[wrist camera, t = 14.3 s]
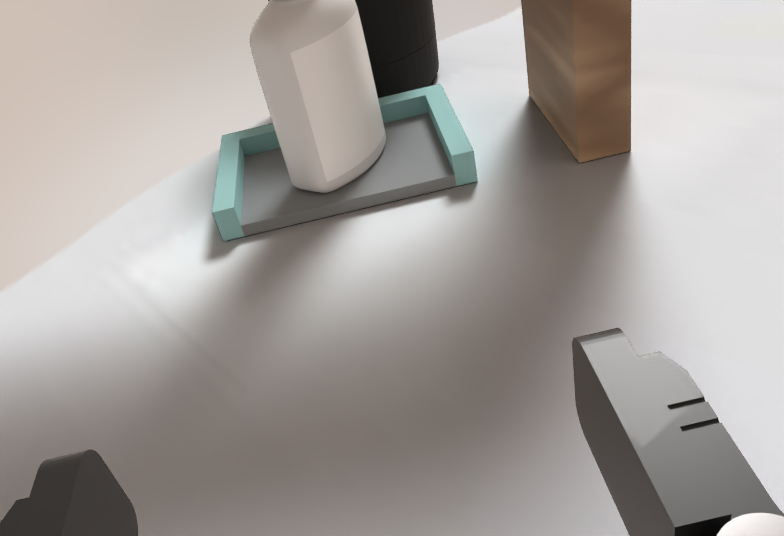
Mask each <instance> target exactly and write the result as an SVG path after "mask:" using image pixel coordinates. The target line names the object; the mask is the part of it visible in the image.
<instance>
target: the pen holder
mask: <svg viewBox="0 0 784 536" xmlns="http://www.w3.org/2000/svg"><path fill="white" fill-rule="evenodd" d="M268 1H270V0H268ZM355 2H356V5H357V8H358V12H359V16H360V20H361V24H362V29H363V33H364V37H365V42H366V46H367V51H368V55H369V60H370V64H371V69H372V73H373V78H374V83H375V87H376V92H377V96H378V98H382V97H386V96H390V95H394V94H399V93H403V92H407V91H411V90H415V89H420V88H424V87H428V86H429V85H430V84H431V83H432V82H433V80H434V78H435V76H436V74H437V72H438V67H439V62H438V51H437V41H436V33H435V21H434V13H433V5H432V0H355Z"/></svg>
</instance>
